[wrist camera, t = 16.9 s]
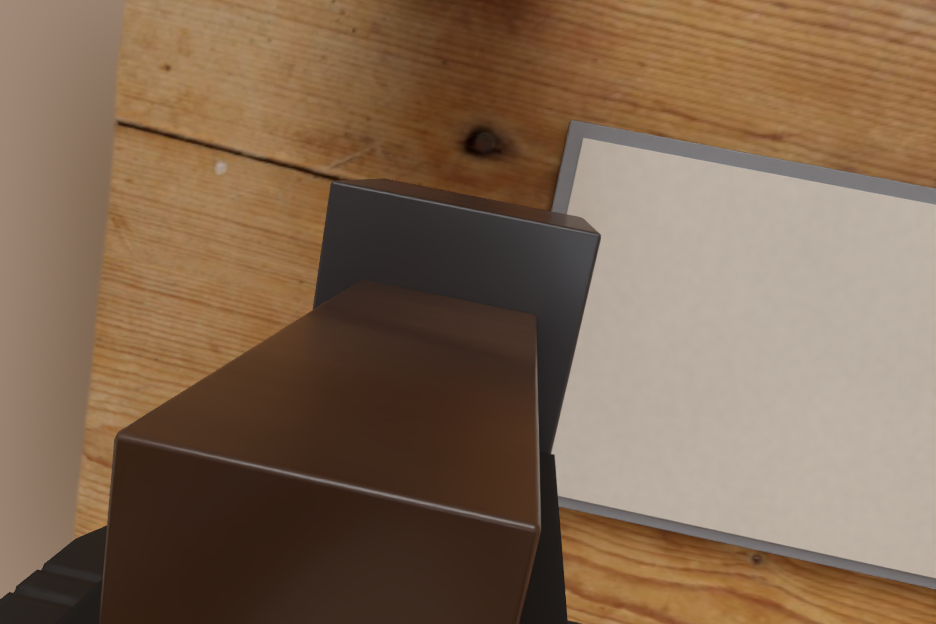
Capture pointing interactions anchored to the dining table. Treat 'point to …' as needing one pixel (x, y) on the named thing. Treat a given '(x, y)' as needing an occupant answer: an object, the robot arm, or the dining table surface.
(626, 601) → the dining table surface
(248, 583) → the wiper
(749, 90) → the dining table surface
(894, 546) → the whiteboard
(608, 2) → the dining table surface
